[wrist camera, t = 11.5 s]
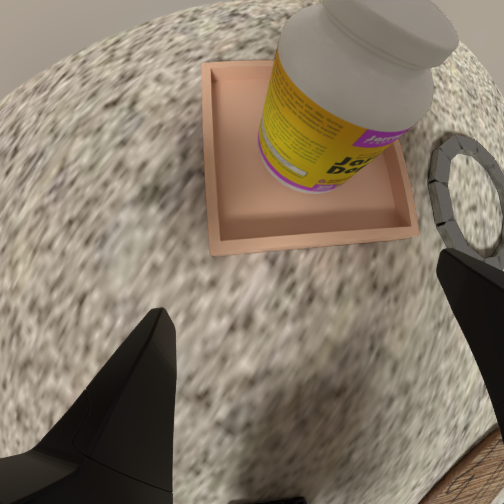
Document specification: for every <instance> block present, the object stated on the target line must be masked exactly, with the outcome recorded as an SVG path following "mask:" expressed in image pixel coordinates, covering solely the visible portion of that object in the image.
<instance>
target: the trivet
mask: <svg viewBox="0 0 504 504" xmlns="http://www.w3.org/2000/svg"><path fill="white" fill-rule="evenodd" d="M503 487H504V445H503V440H502V436H501V433H500V429H499V428H498V429H496V430H495V431H493V432H492V433H490V434H489V435H488V436H487V437H485V438H484V439H483V440H482V441H481V442H480V443H479V444H477V445H476V446H475V447H474V448H473V449H472V450H471V451H470V452H469V453H468V454H467V455H466V456H465V457H463V458H462V459H461V460H460V461H459V462H458V463H457V464H456V465H455V466H454V467H453V468H452V469H451V470H450V471H449V472H448V473H447V474H446V475H445V476H444V477H443V478H442V479H441V480H440V481H439V482H438V483H437V484H436V485H435V486H434V487H433V488H432V489H431V490H430V491H429V493H428V494H427V495H426V496H425V497H424V498H423V499H422V500H421V501H420V502H419V504H491V503H492V501H493V500H494V499H495V498H496V496H497V495H498V494H499V493H500V491H501V490H502V489H503Z"/></svg>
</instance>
